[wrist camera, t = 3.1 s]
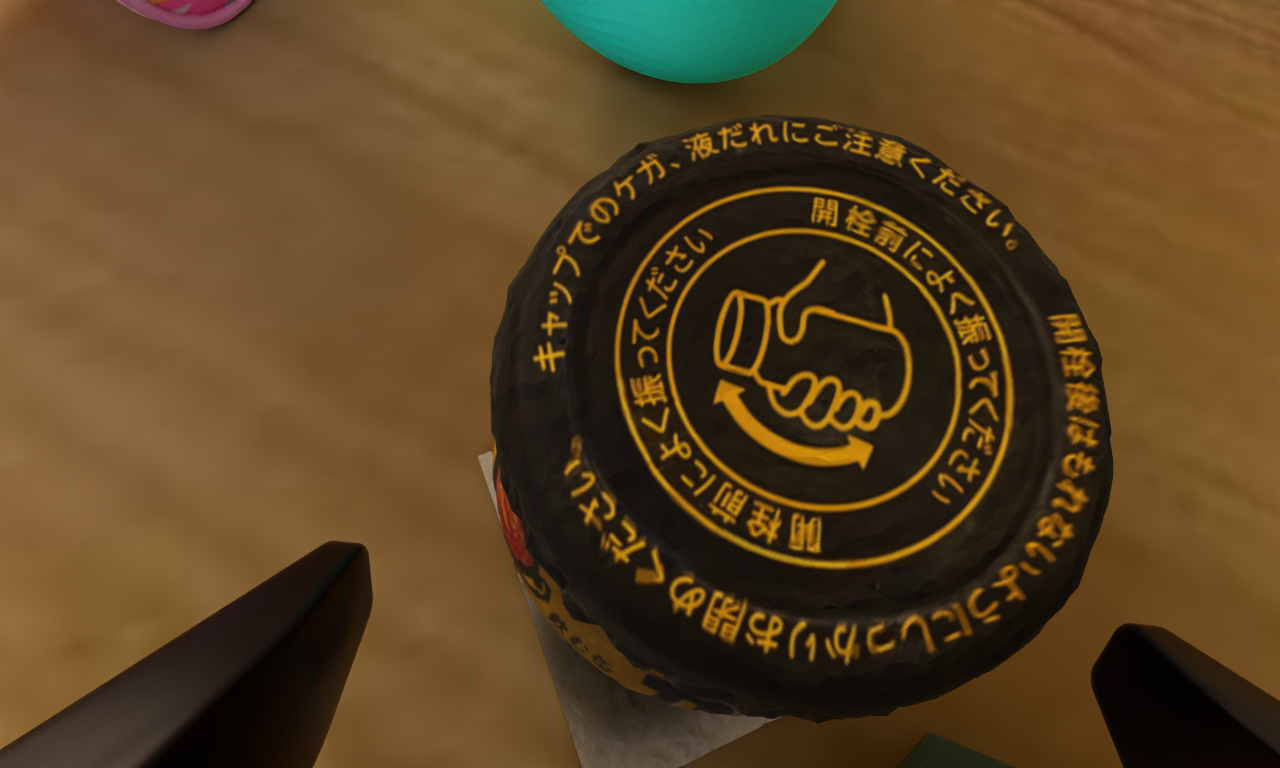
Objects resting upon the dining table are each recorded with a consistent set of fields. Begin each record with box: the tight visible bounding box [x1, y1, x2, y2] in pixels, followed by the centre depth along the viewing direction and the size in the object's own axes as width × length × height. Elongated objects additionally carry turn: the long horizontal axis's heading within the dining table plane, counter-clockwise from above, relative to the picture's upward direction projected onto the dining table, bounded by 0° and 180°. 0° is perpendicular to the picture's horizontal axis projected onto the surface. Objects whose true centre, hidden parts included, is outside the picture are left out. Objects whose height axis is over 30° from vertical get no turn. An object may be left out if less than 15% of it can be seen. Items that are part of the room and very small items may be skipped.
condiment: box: [478, 115, 1113, 768], centre depth 10 cm, size 7×8×12 cm
